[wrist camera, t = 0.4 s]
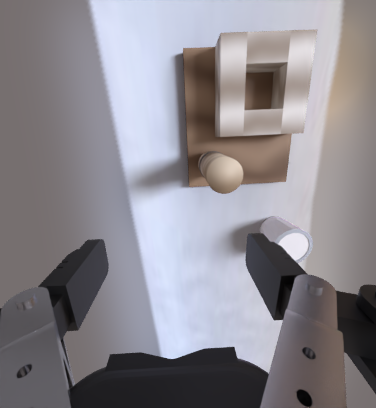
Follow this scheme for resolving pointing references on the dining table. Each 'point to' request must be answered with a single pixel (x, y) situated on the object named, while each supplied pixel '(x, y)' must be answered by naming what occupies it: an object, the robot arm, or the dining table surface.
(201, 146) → the socket board
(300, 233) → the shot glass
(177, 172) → the dining table surface
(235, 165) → the peg
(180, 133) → the dining table surface
